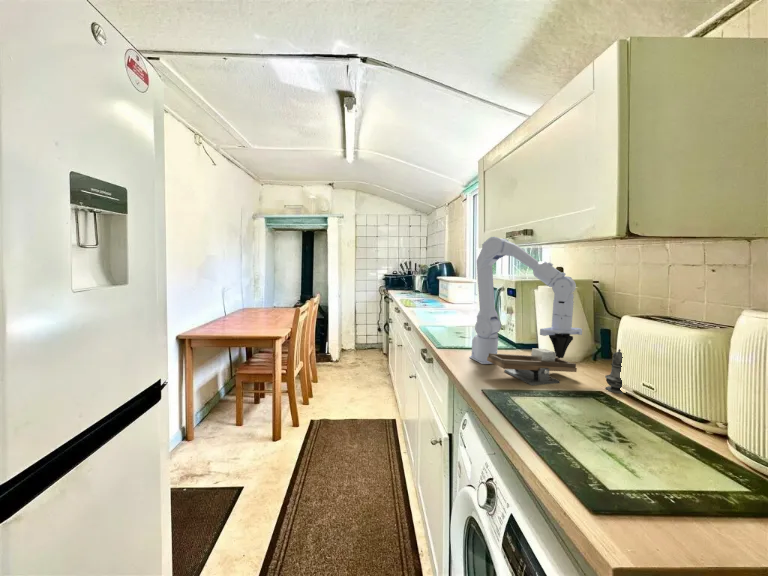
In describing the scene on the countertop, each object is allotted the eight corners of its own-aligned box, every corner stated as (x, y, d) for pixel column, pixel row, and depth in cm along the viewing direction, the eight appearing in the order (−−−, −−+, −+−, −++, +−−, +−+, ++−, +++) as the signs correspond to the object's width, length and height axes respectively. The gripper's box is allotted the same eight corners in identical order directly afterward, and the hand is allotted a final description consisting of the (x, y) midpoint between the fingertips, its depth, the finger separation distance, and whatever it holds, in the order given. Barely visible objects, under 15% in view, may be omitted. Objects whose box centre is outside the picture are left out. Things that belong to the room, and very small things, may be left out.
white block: (530, 360, 116) (532, 348, 115) (543, 361, 117) (545, 349, 117) (540, 364, 111) (542, 351, 111) (554, 365, 112) (556, 352, 112)
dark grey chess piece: (632, 395, 100) (636, 352, 99) (608, 392, 101) (612, 350, 100) (622, 388, 106) (626, 347, 105) (600, 386, 107) (604, 345, 106)
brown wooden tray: (487, 360, 114) (488, 352, 114) (555, 363, 121) (556, 356, 121) (503, 368, 105) (505, 360, 105) (576, 372, 112) (577, 364, 112)
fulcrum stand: (503, 371, 118) (504, 358, 118) (529, 369, 121) (530, 356, 121) (531, 385, 105) (532, 370, 105) (560, 383, 108) (561, 369, 108)
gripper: (552, 317, 109) (549, 361, 110) (591, 316, 113) (588, 359, 114) (536, 313, 116) (533, 355, 117) (573, 313, 120) (570, 353, 121)
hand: (559, 357), depth 116 cm, fingers closed
